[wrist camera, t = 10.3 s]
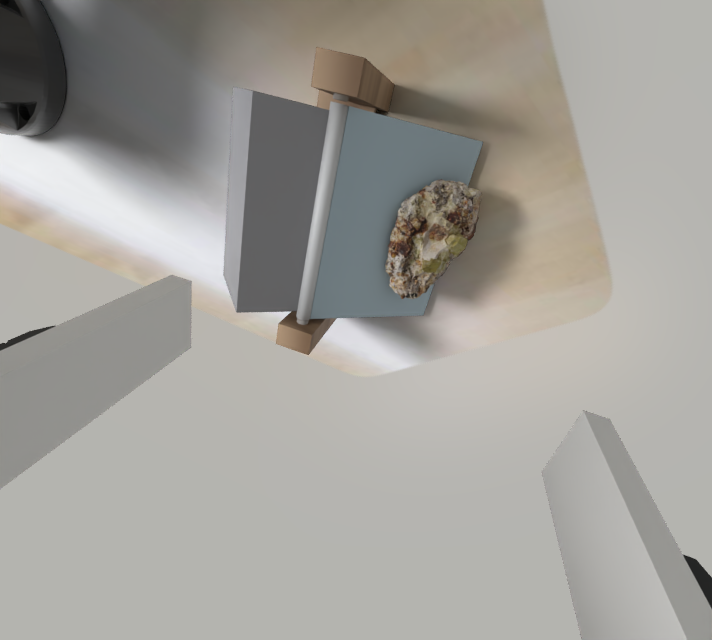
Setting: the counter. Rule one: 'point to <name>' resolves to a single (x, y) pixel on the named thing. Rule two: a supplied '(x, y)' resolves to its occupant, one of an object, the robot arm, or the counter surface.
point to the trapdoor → (325, 204)
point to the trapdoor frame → (336, 84)
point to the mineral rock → (430, 235)
